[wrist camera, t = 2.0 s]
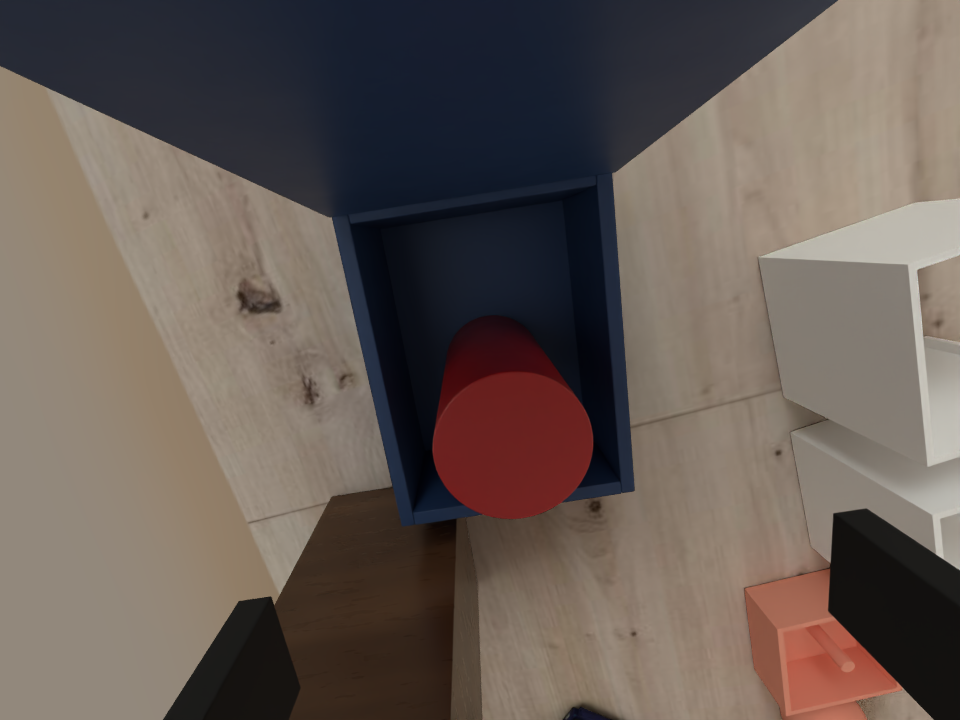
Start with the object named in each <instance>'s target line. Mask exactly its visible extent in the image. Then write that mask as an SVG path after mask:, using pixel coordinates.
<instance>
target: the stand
mask: <svg viewBox="0 0 960 720" xmlns="http://www.w3.org/2000/svg"><path fill="white" fill-rule="evenodd" d="M274 607H275V610H276V613H277V616H278V619H279V622H280V625H281V628H282V631H283V634H284V637H285V641H286V644H287V647H288V650H289V653H290V656H291V659H292V662H293V665H294V668H295V671H296V674H297V677H298V680H299V684H300V687H301V689H300V691H299V694H298V697H297V699H296V702H295V705H294V707H293V710H292V713H291V715H290V718H289V720H482V693H481V665H480V637H479V609H478V583H477V577H476V572H475V567H474V561H473V556H472V550H471V545H470V539H469V534H468V528H467V523H466V517H464V518H457V519H451V520H444V521H438V522H431V523H425V524H418V525H416V524H415V525H410V526H402V525H401V521H400V516H399V512H398V508H397V503H396V499H395V494H394V490H393V487H391V488H385V489H378V490H372V491H365V492H359V493H352V494H346V495H339V496H333V497H331V499H330V501H329V503H328V505H327V506H326V508H325V510H324V512H323V514H322V516H321V518H320V520H319V522H318V524H317V525H316V527H315V529H314V531H313V533H312V535H311V537H310V539H309V541H308V543H307V544H306V546H305V548H304V550H303V552H302V554H301V556H300V558H299V560H298V562H297V563H296V565H295V567H294V569H293V571H292V573H291V575H290V577H289V579H288V581H287V582H286V584H285V586H284V588H283V590H282V592H281V594H280V596H279V598H278V600H277V601H276V603H275V605H274Z"/></svg>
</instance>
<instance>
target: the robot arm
mask: <svg viewBox="0 0 960 720" xmlns="http://www.w3.org/2000/svg"><path fill="white" fill-rule="evenodd" d="M828 612H829V613H830V614H831V615H832V616H833V617H834V618H835V619H836V620H837V621H838V622H839V623H840V624H841V625H842V626H843V627H844V628H845V629H846V630H847V631H848V632H849V633H850V634H851V635H852V636H853V637H854V638H855V639H856V640H857V641H858V642H859V643H860V645H861V646H862V647H863V648H864V649H865V650H866V651H867V652H868V653H869V654H870V655H871V656H872V657H873V658H874V659H875V660H876V661H877V662H878V663H879V664H880V665H881V666H882V667H883V668H884V669H885V670H886V671H887V672H888V673H889V674H890V675H891V676H892V677H893V678H894V679H895V680H896V681H897V682H898V683H899V684H900V685H901V686H902V687H903V688H904V689H905V691H906V692H907V693H908V694H909V695H910V696H911V697H912V698H913V699H914V700H915V701H916V702H917V703H918V704H919V705H920V706H921V707H922V708H923V709H924V710H925V711H926V712H927V713H928V714H929V715H930V716H931V717H932V718H933V719H934V720H960V570H959V569H957V568H956V567H954V566H953V565H951V564H950V563H948V562H947V561H945V560H944V559H942V558H941V557H939V556H938V555H936V554H935V553H933V552H932V551H930V550H929V549H927V548H926V547H924V546H923V545H921V544H920V543H918V542H917V541H915V540H914V539H912V538H911V537H909V536H908V535H906V534H905V533H903V532H902V531H900V530H899V529H897V528H896V527H894V526H893V525H891V524H890V523H888V522H887V521H885V520H884V519H882V518H880V517H879V516H877V515H876V514H874V513H873V512H871V511H870V510H868V509H867V508H865V509H858V510H852V511H845V512H838V513H833V527H832V545H831V563H830V582H829V600H828ZM300 689H301V687H300V684H299V680H298V677H297V674H296V671H295V668H294V665H293V662H292V659H291V656H290V653H289V650H288V647H287V644H286V641H285V637H284V634H283V631H282V628H281V625H280V622H279V619H278V616H277V613H276V610H275V607H274V604H273V601H272V597H264V598H257V599H250V600H244V601H239V602H238V603H237V605H236V607H235V608H234V610H233V611H232V613H231V615H230V616H229V618H228V619H227V621H226V622H225V624H224V625H223V627H222V628H221V630H220V632H219V633H218V635H217V636H216V638H215V640H214V641H213V643H212V644H211V646H210V647H209V649H208V650H207V652H206V654H205V655H204V657H203V658H202V660H201V661H200V663H199V664H198V666H197V668H196V669H195V671H194V673H193V674H192V675H191V677H190V678H189V680H188V682H187V683H186V685H185V686H184V688H183V690H182V691H181V693H180V694H179V696H178V697H177V699H176V700H175V702H174V704H173V705H172V707H171V708H170V710H169V711H168V713H167V714H166V716H165V718H164V719H163V720H289V718H290V715H291V713H292V710H293V707H294V705H295V702H296V699H297V697H298V694H299V691H300Z"/></svg>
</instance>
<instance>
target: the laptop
mask: <svg viewBox="0 0 960 720" xmlns="http://www.w3.org/2000/svg"><path fill="white" fill-rule="evenodd" d="M564 720H611V719H608V718H606V717H604V716H601V715H599V714H597V713H594V712H592V711H589V710H587V709H585V708H582V707H580V708H579V709H577V708H572V710H571V711H570V712H569V713H568V715H567V716H566V717H565V719H564Z"/></svg>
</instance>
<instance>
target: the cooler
mask: <svg viewBox="0 0 960 720" xmlns="http://www.w3.org/2000/svg"><path fill="white" fill-rule="evenodd" d="M332 220H333V225H334V229H335V233H336V238H337V242H338V247H339V251H340V256H341V260H342V264H343V269H344V273H345V278H346V282H347V286H348V291H349V295H350V300H351V304H352V309H353V313H354V317H355V322H356V326H357V331H358V335H359V340H360V344H361V348H362V353H363V357H364V362H365V366H366V370H367V375H368V379H369V384H370V388H371V393H372V397H373V401H374V406H375V410H376V415H377V419H378V424H379V428H380V432H381V437H382V441H383V446H384V450H385V454H386V459H387V463H388V468H389V472H390V477H391V481H392V485H393V490H394V494H395V499H396V503H397V508H398V512H399V516H400V521H401V525H402V526H410V525H415V524H416V525H418V524H425V523H431V522H438V521H444V520H451V519H457V518H464V517H471V516H477V515H483V514H481V513H478V512H475V511H473V510H472V509H470V508H468V507H466V506H465V505H463V504H462V503H461V502H459V501H458V500H457V499H456V498H455V497H454V496H453V495H452V494H451V493H450V492H449V491H448V489H447V488H446V487H445V486H444V484H443V482H442V481H441V479H440V477H439V475H438V472H437V470H436V467H435V463H434V458H433V436H434V430H435V424H436V418H437V412H438V406H439V400H440V394H441V388H442V381H443V375H444V369H445V363H446V357H447V351H448V348H449V345H450V343H451V341H452V339H453V337H454V336H455V334H456V333H457V332H458V331H459V330H460V329H461V328H462V327H463V326H464V325H465V324H467V323H468V322H470V321H472V320H474V319H477V318H479V317H483V316H490V315H499V316H505V317H508V318H511V319H513V320H515V321H517V322H519V323H520V324H522V325H523V326H524V327H525V328H527V330H528V331H529V332H530V333H531V334H532V336H533V337H534V339H535V340H536V341H537V343H538V344H539V345H540V347H541V348H542V350H543V351H544V352H545V354H546V355H547V357H548V358H549V359H550V361H551V362H552V364H553V365H554V366H555V368H556V369H557V371H558V372H559V373H560V375H561V376H562V377H563V379H564V380H565V382H566V383H567V384H568V386H569V387H570V389H571V390H572V391H573V393H574V394H575V396H576V397H577V398H578V400H579V401H580V403H581V404H582V406H583V407H584V409H585V411H586V413H587V415H588V417H589V420H590V423H591V427H592V433H593V452H592V457H591V461H590V465H589V467H588V470H587V472H586V474H585V476H584V478H583V480H582V481H581V483H580V484H579V485H578V487H577V488H576V489H575V491H574V492H573V493H572V494H571V495H570V496H569V497H568V498H566V499H565V500H564V501H563V502H569V501H575V500H582V499H589V498H595V497H602V496H608V495H615V494H621V492H622V493H626V492H632V491H634V490H635V487H634V473H633V459H632V445H631V431H630V417H629V403H628V389H627V375H626V361H625V347H624V333H623V319H622V305H621V291H620V277H619V263H618V248H617V234H616V220H615V206H614V192H613V178H612V173H607V174H601V175H594V176H588V177H582V178H576V179H569V180H563V181H557V182H550V183H544V184H538V185H531V186H525V187H519V188H512V189H506V190H500V191H493V192H487V193H481V194H474V195H468V196H462V197H456V198H449V199H443V200H437V201H430V202H424V203H418V204H411V205H405V206H399V207H392V208H386V209H380V210H373V211H367V212H361V213H354V214H348V215H342V216H336V217H332ZM561 503H562V502H561Z"/></svg>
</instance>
